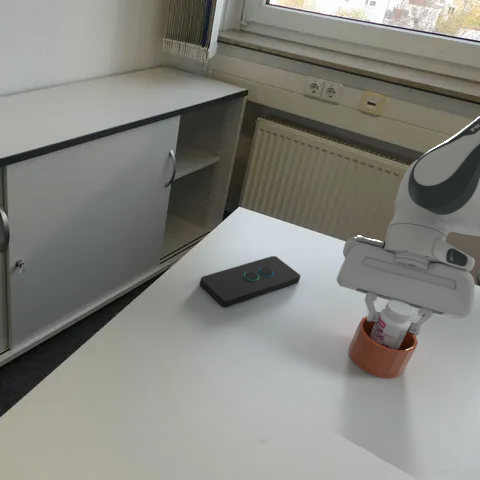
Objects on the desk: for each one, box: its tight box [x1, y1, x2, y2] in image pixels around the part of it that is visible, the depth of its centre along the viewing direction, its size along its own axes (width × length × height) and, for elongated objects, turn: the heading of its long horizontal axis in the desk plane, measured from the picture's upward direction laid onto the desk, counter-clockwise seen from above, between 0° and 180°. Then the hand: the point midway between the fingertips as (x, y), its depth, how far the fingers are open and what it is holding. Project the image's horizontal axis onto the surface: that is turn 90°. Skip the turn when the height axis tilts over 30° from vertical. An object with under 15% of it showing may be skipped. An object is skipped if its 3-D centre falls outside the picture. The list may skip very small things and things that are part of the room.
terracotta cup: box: [348, 315, 419, 379], centre depth 91 cm, size 9×9×6 cm
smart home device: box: [199, 255, 301, 308], centre depth 108 cm, size 8×2×20 cm
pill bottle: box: [369, 300, 414, 350], centre depth 89 cm, size 5×5×8 cm
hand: (392, 328), depth 89 cm, fingers closed on pill bottle, 5 cm apart
